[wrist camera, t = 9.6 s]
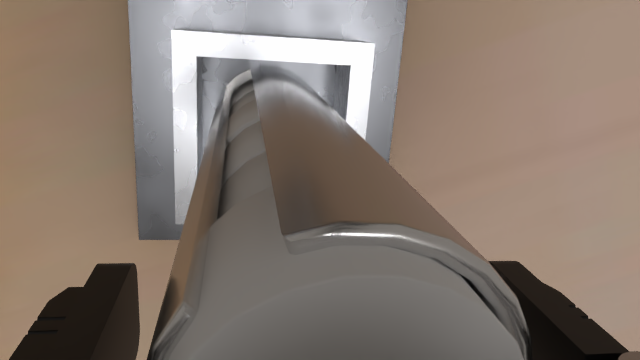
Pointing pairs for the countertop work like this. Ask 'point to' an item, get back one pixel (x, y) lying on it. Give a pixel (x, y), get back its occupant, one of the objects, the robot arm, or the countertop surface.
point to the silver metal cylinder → (321, 248)
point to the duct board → (237, 57)
